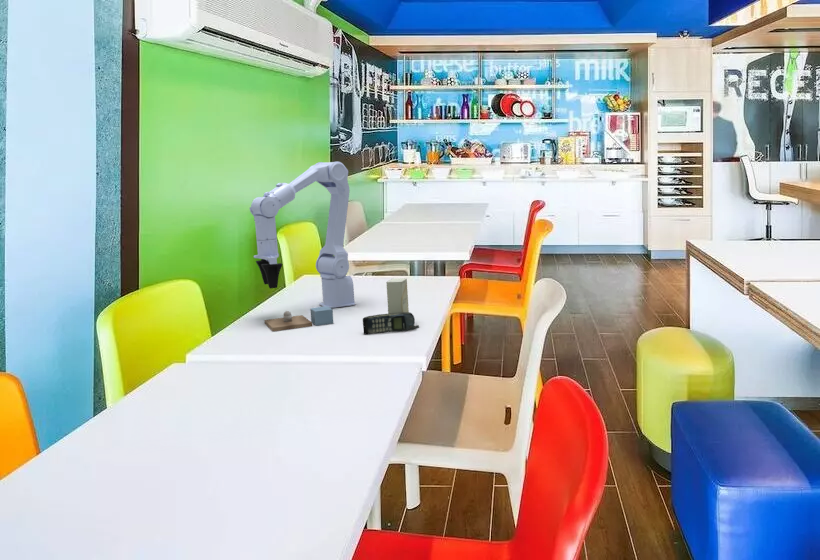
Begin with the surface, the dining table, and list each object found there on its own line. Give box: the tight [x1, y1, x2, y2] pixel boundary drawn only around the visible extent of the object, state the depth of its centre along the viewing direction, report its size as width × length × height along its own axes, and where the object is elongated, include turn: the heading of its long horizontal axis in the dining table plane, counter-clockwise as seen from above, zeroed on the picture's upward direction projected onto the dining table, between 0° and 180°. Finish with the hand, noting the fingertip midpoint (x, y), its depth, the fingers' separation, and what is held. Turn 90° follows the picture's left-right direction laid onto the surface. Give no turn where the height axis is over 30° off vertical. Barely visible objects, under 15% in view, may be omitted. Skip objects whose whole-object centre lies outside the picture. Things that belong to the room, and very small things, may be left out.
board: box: [264, 310, 313, 332], centre depth 206 cm, size 11×11×4 cm
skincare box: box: [386, 277, 410, 314], centre depth 201 cm, size 6×4×12 cm
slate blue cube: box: [310, 306, 334, 327], centre depth 207 cm, size 5×5×4 cm
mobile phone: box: [362, 311, 420, 335], centre depth 194 cm, size 5×3×15 cm
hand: (270, 285), depth 214 cm, fingers open, 7 cm apart
